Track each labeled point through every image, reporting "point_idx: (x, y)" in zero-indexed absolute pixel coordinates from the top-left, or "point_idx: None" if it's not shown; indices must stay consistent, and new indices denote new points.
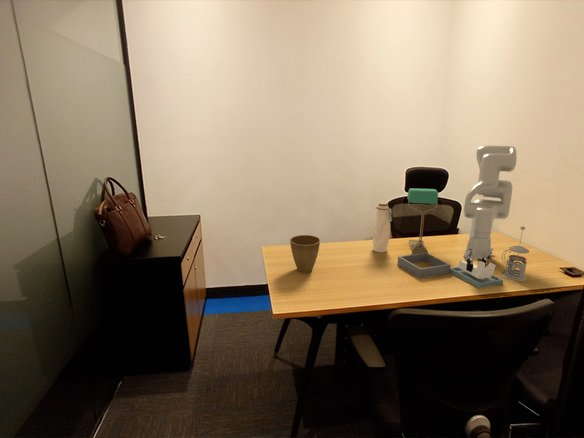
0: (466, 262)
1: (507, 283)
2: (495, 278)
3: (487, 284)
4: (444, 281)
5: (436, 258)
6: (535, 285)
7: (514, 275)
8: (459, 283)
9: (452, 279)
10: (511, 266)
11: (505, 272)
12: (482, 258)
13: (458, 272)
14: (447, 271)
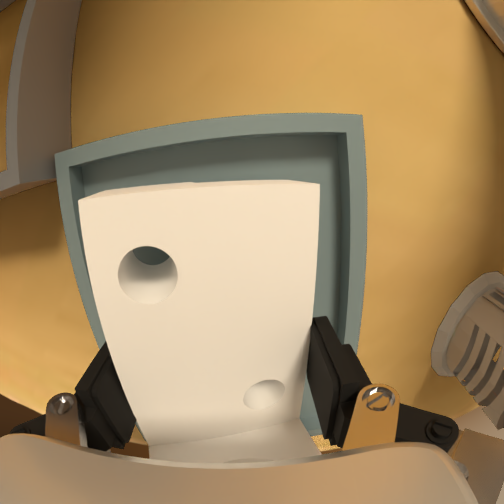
0: (170, 242)
1: None
2: None
3: None
4: (6, 294)
5: (22, 15)
6: (445, 409)
7: (472, 346)
8: (68, 345)
9: (47, 285)
10: (483, 396)
11: (470, 320)
12: (360, 425)
13: (79, 270)
14: (43, 182)
